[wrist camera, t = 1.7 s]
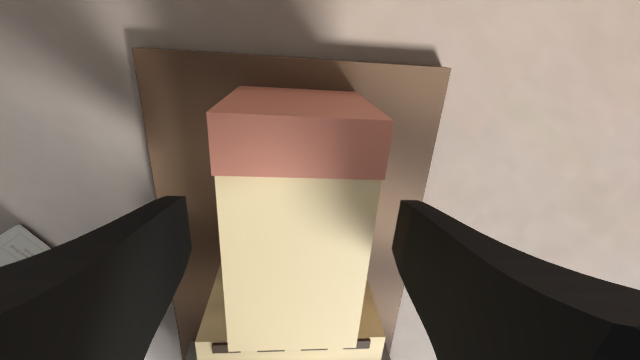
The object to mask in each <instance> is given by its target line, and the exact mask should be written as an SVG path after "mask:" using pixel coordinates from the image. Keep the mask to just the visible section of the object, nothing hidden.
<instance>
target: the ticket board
mask: <svg viewBox="0 0 640 360" xmlns="http://www.w3.org/2000/svg"><path fill="white" fill-rule="evenodd" d="M132 52H133V58H134V64H135V70H136V76H137V82H138V89H139V95H140V101H141V107H142V113H143V119H144V125H145V131H146V137H147V144H148V150H149V156H150V162H151V168H152V174H153V180H154V186H155V192H156V199H159V198H161V197H164V196H186V204H187V212H188V220H189V228H190V236H191V244H192V250H191V254H190V257H189V260H188V264H187V267H186V270H185V273H184V275H183V277H182V280H181V282H180V284H179V286H178V288H177V290H176V292H175V294H174V296H173V302H174V309H175V315H176V321H177V327H178V333H179V339H180V345H181V351H182V357H183V360H391V359H390V356H389V353H390V349H391V344H392V339H393V335H394V330H395V325H396V321H397V316H398V312H399V307H400V302H401V298H402V293H403V289H404V283H403V281H402V279H401V277H400V274H399V272H398V269H397V266H396V262H395V259H394V256H393V252H392V244H393V238H394V233H395V228H396V222H397V217H398V212H399V206H400V201H401V200H419V201H421V202H422V201H423V196H424V192H425V187H426V182H427V178H428V173H429V168H430V164H431V159H432V155H433V150H434V145H435V141H436V136H437V132H438V127H439V122H440V118H441V113H442V108H443V104H444V99H445V95H446V90H447V85H448V81H449V76H450V72H451V68H447V67H438V66H422V65H406V64H391V63H375V62H359V61H344V60H328V59H312V58H297V57H281V56H265V55H250V54H234V53H218V52H202V51H187V50H171V49H155V48H132ZM239 86H256V87H275V88H293V89H312V90H331V91H349V92H356V93H358V94H359V95H361V96H362V97H363V98H365V99H366V100H367V101H369V102H370V103H371V104H373V105H374V106H375V107H377V108H378V109H379V110H381V111H382V112H383V113H385V114H386V115H387V116H389V117H390V118H392V119H393V120H394V126H393V132H392V139H391V145H390V151H389V158H388V164H387V170H386V177H385V180H382V183H381V189H380V196H379V202H378V209H377V215H376V222H375V228H374V235H373V241H372V248H371V254H370V261H369V267H368V274H367V280H366V287H365V293H364V300H363V306H362V313H361V319H360V326H359V332H358V339H357V345H356V348H333V349H301V350H269V351H236V352H228V342H227V329H226V316H225V304H224V291H223V278H222V265H221V252H220V240H219V227H218V214H217V201H216V189H215V176H211V164H210V152H209V140H208V128H207V116H206V112H207V111H208V110H210V109H211V108H212V107H213V106H215V105H216V104H217V103H218V102H220V101H221V100H222V99H224V98H225V97H226V96H227V95H229V94H230V93H231V92H232V91H234V90H235V89H236V88H237V87H239Z"/></svg>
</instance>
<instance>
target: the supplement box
mask: <svg viewBox="0 0 640 360" xmlns="http://www.w3.org/2000/svg"><path fill="white" fill-rule="evenodd" d="M49 249H51V248H50V247H48V246H47V245H46V244H45V243H43V242H42V241H41V240H39V239H38V238H37V237H35V236H34V235H33V234H32V233H30V232H29V231H28V230H27V229H25V228H24V227H23V226H21V225H19V224H18V225H16V226H14V227H12V228H11V229H9V230H7V231H6V232H4V233H2V234H1V235H0V267H1V266H4V265H7V264H11V263H14V262H17V261H20V260H23V259H25V258H28V257H31V256H34V255H36V254H39V253H41V252H44V251H47V250H49Z"/></svg>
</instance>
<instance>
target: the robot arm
mask: <svg viewBox="0 0 640 360" xmlns="http://www.w3.org/2000/svg"><path fill="white" fill-rule="evenodd" d="M191 250H192V244H191V236H190V228H189V220H188V212H187V204H186V196H164V197H161V198H159V199H156V200H154V201H152V202H150V203H148V204H146V205H144V206H142V207H140V208H138V209H136V210H134V211H132V212H130V213H128V214H126V215H124V216H122V217H120V218H118V219H116V220H115V221H113V222H110V223H108V224H106V225H104V226H102V227H100V228H98V229H95V230H93V231H91V232H89V233H87V234H85V235H83V236H80V237H78V238H76V239H74V240H71V241H69V242H67V243H64V244H62V245H59V246H57V247H55V248H52V249H49V250H47V251H44V252H41V253H39V254H36V255H34V256H31V257H28V258H25V259H23V260H20V261H17V262H14V263H11V264H7V265H4V266H1V267H0V360H144V358H145V355H146V353H147V351H148V348H149V346H150V344H151V341H152V339H153V337H154V335H155V333H156V331H157V329H158V327H159V325H160V323H161V321H162V319H163V317H164V315H165V313H166V311H167V309H168V307H169V304H170V302H171V300H172V298H173V296H174V294H175V292H176V290H177V288H178V286H179V284H180V282H181V280H182V277H183V275H184V273H185V270H186V267H187V264H188V260H189V257H190V254H191ZM392 252H393V256H394V259H395V262H396V266H397V269H398V272H399V274H400V277H401V279H402V281H403V283H404V285H405V287H406V290H407V292H408V294H409V296H410V298H411V300H412V302H413V304H414V306H415V308H416V311H417V313H418V315H419V317H420V319H421V321H422V323H423V325H424V327H425V329H426V332H427V334H428V336H429V339H430V341H431V343H432V346H433V349H434V351H435V354H436V357H437V360H640V290H637V289H633V288H630V287H626V286H622V285H619V284H615V283H611V282H608V281H604V280H601V279H598V278H594V277H591V276H588V275H585V274H581V273H578V272H575V271H573V270H570V269H567V268H564V267H561V266H558V265H555V264H552V263H549V262H547V261H544V260H541V259H539V258H536V257H534V256H531V255H529V254H526V253H524V252H521V251H519V250H517V249H514V248H512V247H510V246H507V245H505V244H503V243H501V242H499V241H497V240H495V239H493V238H490V237H488V236H486V235H484V234H482V233H480V232H478V231H476V230H474V229H473V228H471V227H469V226H467V225H465V224H463V223H461V222H459V221H458V220H456V219H454V218H452V217H450V216H449V215H447V214H445V213H443V212H441V211H439V210H438V209H436V208H434V207H432V206H430V205H428V204H426V203H424V202H421V201H419V200H401V201H400V206H399V212H398V217H397V222H396V228H395V233H394V238H393V244H392Z"/></svg>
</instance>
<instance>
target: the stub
mask: <svg viewBox="0 0 640 360" xmlns="http://www.w3.org/2000/svg"><path fill="white" fill-rule="evenodd" d="M206 116H207V128H208V140H209V152H210V164H211V176H215V189H216V201H217V214H218V227H219V240H220V252H221V265H222V278H223V291H224V304H225V316H226V329H227V342H228V352H236V351H269V350H301V349H333V348H356V345H357V339H358V332H359V326H360V319H361V313H362V306H363V300H364V293H365V287H366V280H367V274H368V267H369V261H370V254H371V248H372V241H373V235H374V228H375V222H376V215H377V209H378V202H379V196H380V189H381V183H382V180H385V177H386V170H387V164H388V158H389V151H390V145H391V139H392V132H393V126H394V120H393V119H392V118H390V117H389V116H387V115H386V114H385V113H383V112H382V111H381V110H379V109H378V108H377V107H375V106H374V105H373V104H371V103H370V102H369V101H367V100H366V99H365V98H363V97H362V96H361V95H359V94H358V93H356V92H349V91H331V90H312V89H293V88H275V87H256V86H239V87H237V88H236V89H235V90H234V91H232V92H231V93H230V94H229V95H227V96H226V97H225V98H224V99H222V100H221V101H220V102H218V103H217V104H216V105H215V106H213V107H212V108H211V109H210V110H208V111H207V112H206Z"/></svg>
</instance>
